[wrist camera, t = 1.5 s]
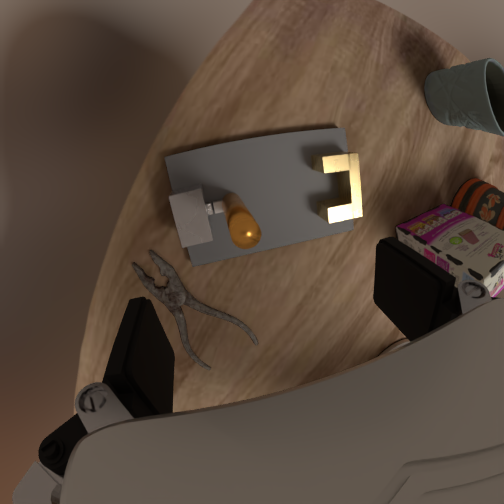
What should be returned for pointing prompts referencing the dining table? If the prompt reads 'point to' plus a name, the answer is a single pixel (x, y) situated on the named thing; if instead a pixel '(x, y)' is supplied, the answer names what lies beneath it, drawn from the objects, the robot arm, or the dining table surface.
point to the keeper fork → (340, 186)
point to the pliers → (182, 302)
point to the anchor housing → (191, 215)
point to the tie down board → (263, 188)
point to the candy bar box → (458, 245)
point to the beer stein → (481, 202)
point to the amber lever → (237, 220)
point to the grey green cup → (468, 95)
